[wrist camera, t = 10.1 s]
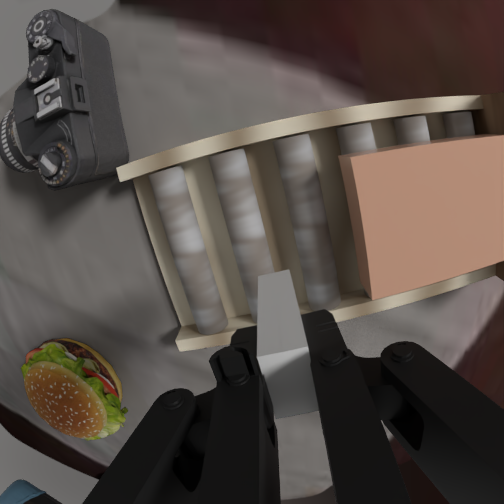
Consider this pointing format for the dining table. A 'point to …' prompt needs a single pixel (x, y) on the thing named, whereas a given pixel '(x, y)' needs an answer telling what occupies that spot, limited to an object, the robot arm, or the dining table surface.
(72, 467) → the dining table surface
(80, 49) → the camera
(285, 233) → the roller bed
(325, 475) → the dining table surface
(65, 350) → the food
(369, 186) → the slab
